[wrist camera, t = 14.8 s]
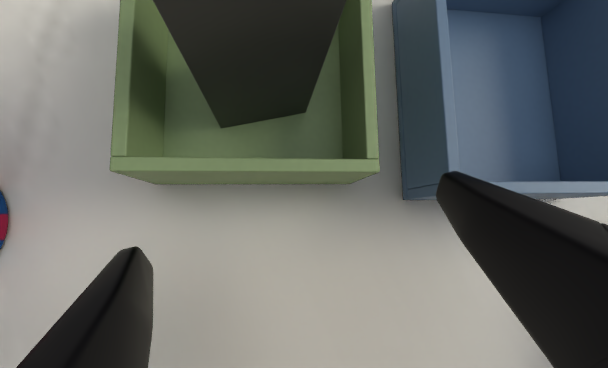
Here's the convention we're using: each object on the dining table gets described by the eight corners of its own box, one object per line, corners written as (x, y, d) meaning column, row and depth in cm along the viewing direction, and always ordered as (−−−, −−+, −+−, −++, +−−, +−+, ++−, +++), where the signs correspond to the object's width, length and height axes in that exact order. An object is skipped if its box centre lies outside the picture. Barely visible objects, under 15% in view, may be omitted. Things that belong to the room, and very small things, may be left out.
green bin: (350, 184, 17) (380, 172, 13) (154, 184, 16) (108, 171, 11) (344, 13, 18) (369, -53, 14) (163, -1, 17) (124, -81, 12)
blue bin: (561, 198, 19) (654, 192, 14) (402, 200, 17) (450, 194, 13) (538, 16, 20) (616, -42, 16) (391, 3, 19) (430, -64, 14)
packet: (306, 112, 17) (402, -146, 5) (220, 129, 16) (81, -131, 4) (290, 48, 17) (342, -341, 5) (205, 61, 16) (37, -362, 4)
